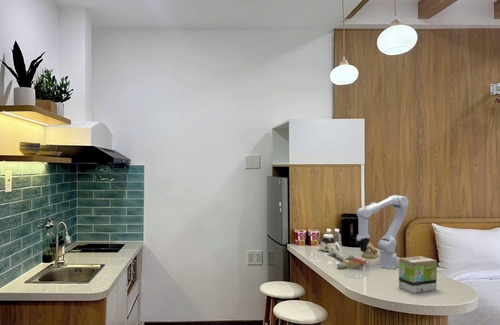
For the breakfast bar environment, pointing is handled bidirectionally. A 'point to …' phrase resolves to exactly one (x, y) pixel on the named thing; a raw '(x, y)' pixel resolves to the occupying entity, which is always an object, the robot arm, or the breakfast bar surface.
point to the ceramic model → (370, 252)
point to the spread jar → (328, 243)
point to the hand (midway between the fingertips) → (363, 251)
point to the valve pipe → (348, 264)
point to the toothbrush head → (337, 254)
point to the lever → (356, 260)
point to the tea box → (417, 274)
